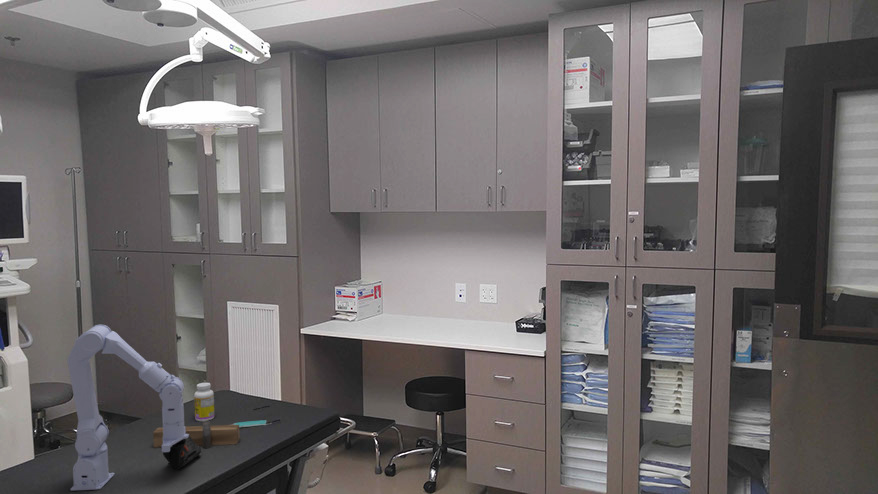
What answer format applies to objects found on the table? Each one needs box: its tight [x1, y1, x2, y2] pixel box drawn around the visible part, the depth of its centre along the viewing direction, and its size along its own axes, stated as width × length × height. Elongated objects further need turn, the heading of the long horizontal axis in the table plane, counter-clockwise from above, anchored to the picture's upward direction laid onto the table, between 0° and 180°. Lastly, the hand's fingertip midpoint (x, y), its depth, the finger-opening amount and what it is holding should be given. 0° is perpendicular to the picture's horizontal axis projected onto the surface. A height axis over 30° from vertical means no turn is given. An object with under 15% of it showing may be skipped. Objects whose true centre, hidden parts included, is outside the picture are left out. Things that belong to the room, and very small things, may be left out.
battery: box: [162, 436, 202, 469], centre depth 185 cm, size 12×8×7 cm
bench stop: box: [152, 420, 241, 449], centre depth 198 cm, size 6×26×8 cm, turn 95°
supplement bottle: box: [193, 382, 215, 423], centre depth 222 cm, size 7×7×13 cm
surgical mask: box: [231, 405, 281, 429], centre depth 216 cm, size 21×4×10 cm
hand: (175, 466), depth 178 cm, fingers closed
